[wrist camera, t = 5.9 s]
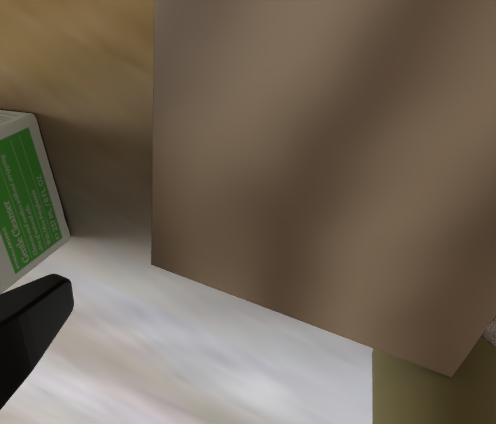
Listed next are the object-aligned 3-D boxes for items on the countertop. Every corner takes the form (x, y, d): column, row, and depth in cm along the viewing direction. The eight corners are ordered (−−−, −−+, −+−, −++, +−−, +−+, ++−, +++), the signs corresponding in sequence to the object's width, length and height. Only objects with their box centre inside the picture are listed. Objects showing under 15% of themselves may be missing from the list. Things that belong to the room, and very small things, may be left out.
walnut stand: (654, -1, 12) (707, 17, 10) (449, 325, 20) (451, 377, 18) (200, -86, 15) (155, -88, 13) (180, 230, 23) (151, 264, 21)
